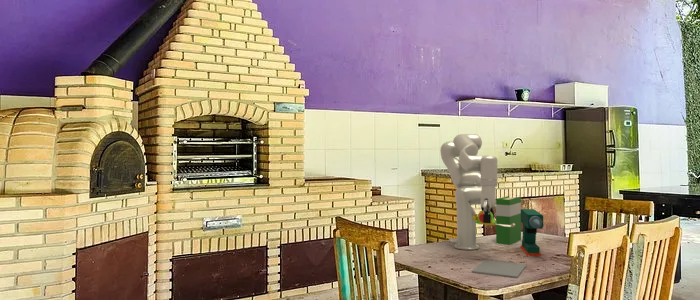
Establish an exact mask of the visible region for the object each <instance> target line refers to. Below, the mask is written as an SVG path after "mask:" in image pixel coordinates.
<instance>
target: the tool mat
mask: <svg viewBox="0 0 700 300" xmlns="http://www.w3.org/2000/svg"><path fill="white" fill-rule="evenodd" d="M526 267H527V264H524V263H515V262H506V261H497V260H488V259H483V260H482V261H481V262H480V263H479V264H478V265H477V266H475V267H474V268H473V269H472V270H471V273H472V274H473V273H474V274H480V273H481V275H488V274H489V276H496V275H498V277H504V278H514V279H518V278H519V277H520V275H521V274H522V273H523V271H524V270H525V268H526Z"/></svg>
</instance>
